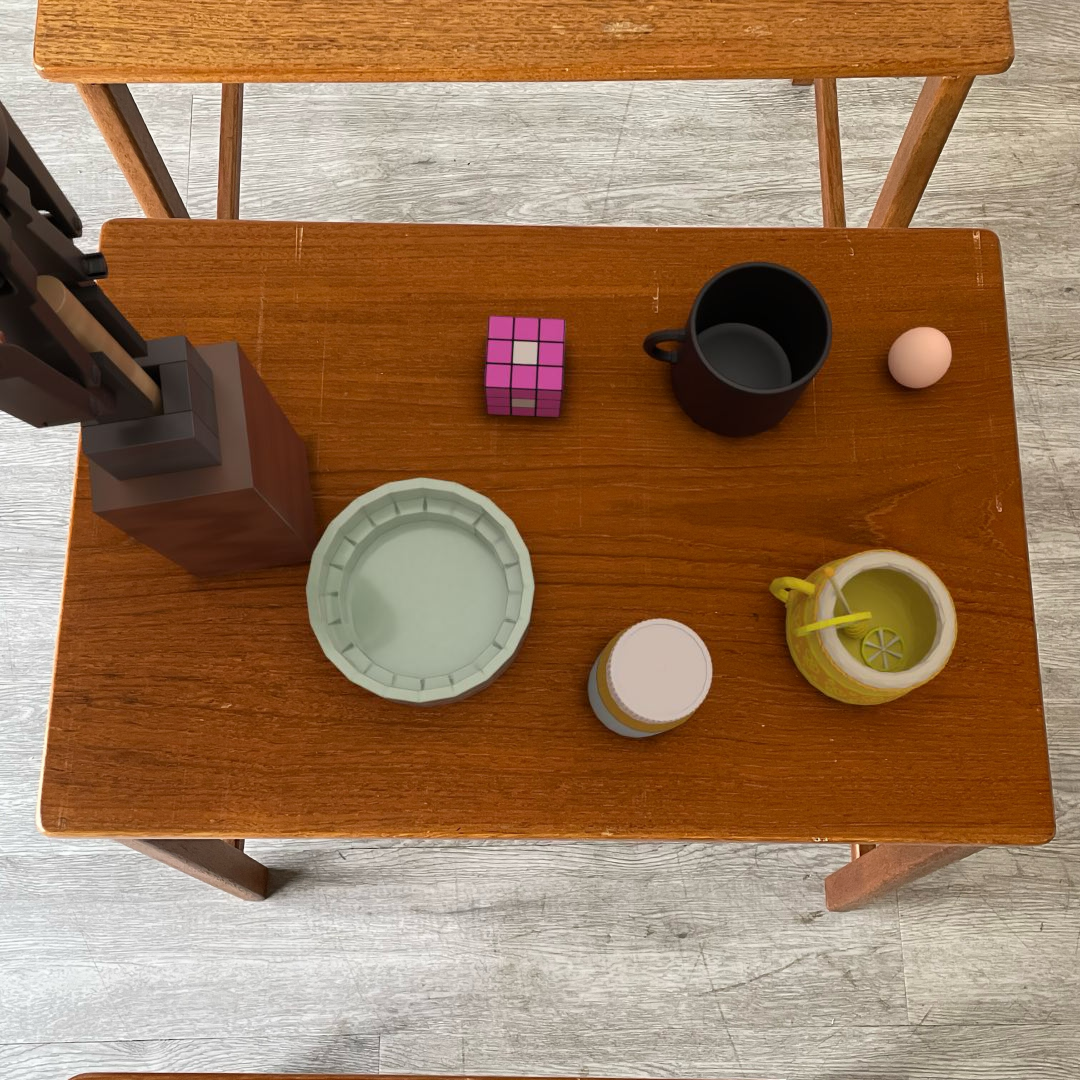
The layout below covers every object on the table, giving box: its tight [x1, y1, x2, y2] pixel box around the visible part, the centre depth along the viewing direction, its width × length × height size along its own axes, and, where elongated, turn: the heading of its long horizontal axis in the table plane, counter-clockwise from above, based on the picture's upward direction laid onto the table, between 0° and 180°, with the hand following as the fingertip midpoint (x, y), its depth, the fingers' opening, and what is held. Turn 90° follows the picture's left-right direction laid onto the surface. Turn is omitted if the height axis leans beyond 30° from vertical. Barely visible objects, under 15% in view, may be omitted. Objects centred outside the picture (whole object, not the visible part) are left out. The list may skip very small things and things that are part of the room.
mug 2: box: [768, 548, 959, 706], centre depth 72 cm, size 13×11×12 cm
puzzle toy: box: [483, 315, 566, 418], centre depth 79 cm, size 6×6×6 cm
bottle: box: [587, 617, 714, 739], centre depth 69 cm, size 7×7×15 cm
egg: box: [887, 326, 953, 389], centre depth 79 cm, size 4×4×6 cm
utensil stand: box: [79, 334, 319, 579], centre depth 66 cm, size 9×9×25 cm
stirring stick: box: [37, 275, 164, 419], centre depth 51 cm, size 2×2×16 cm
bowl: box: [305, 477, 536, 708], centre depth 74 cm, size 16×16×6 cm
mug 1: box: [642, 261, 834, 437], centre depth 77 cm, size 10×13×10 cm
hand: (123, 382), depth 53 cm, fingers open, 3 cm apart
